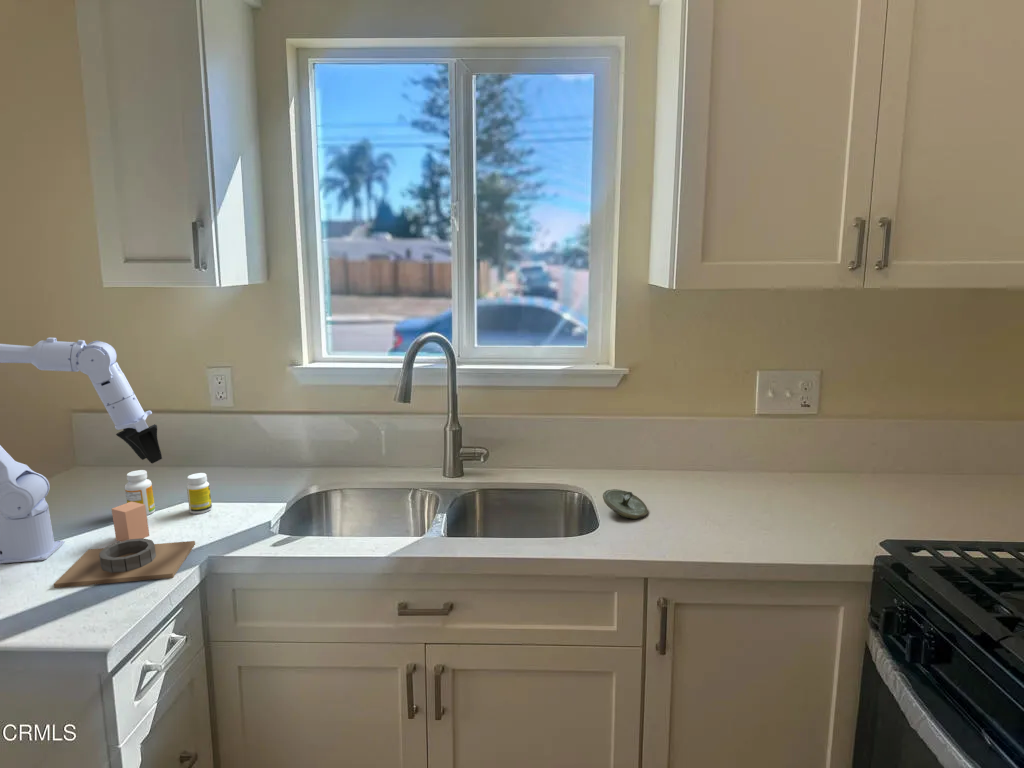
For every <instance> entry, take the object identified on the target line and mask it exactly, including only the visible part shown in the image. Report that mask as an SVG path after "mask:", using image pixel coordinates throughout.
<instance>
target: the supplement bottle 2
mask: <svg viewBox="0 0 1024 768" xmlns="http://www.w3.org/2000/svg"><path fill="white" fill-rule="evenodd" d="M186 480H187V485H186V492H187V500H188V510H189V513H191V514H192V515H198V514H199V515H200V514H204V513H207V512H210V511H211V510H213V505H212V504H213V503H212V495H211V488H210V485H211V484H210V483H209V482H208V477H207V474H206V473H205V472H197V473H192V474H190V475H187V479H186Z"/></svg>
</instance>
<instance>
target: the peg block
mask: <svg viewBox="0 0 1024 768" xmlns="http://www.w3.org/2000/svg"><path fill="white" fill-rule="evenodd" d="M111 515H112V516H111V517H112V520H113V521H112V522H113V529H114V534H115V541H118V542H121V541H125V540H130V539H140V538H142V539H143V538H144V539H146V538H147V537H149V536H150V530H149V524H148V523H149V522H148V515H146V507H145V505H144V504H140V503H136V502H132V501H131V502H128V503H127V502H126V503H123V504H121V505H118V506H115V507H112V508H111Z"/></svg>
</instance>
